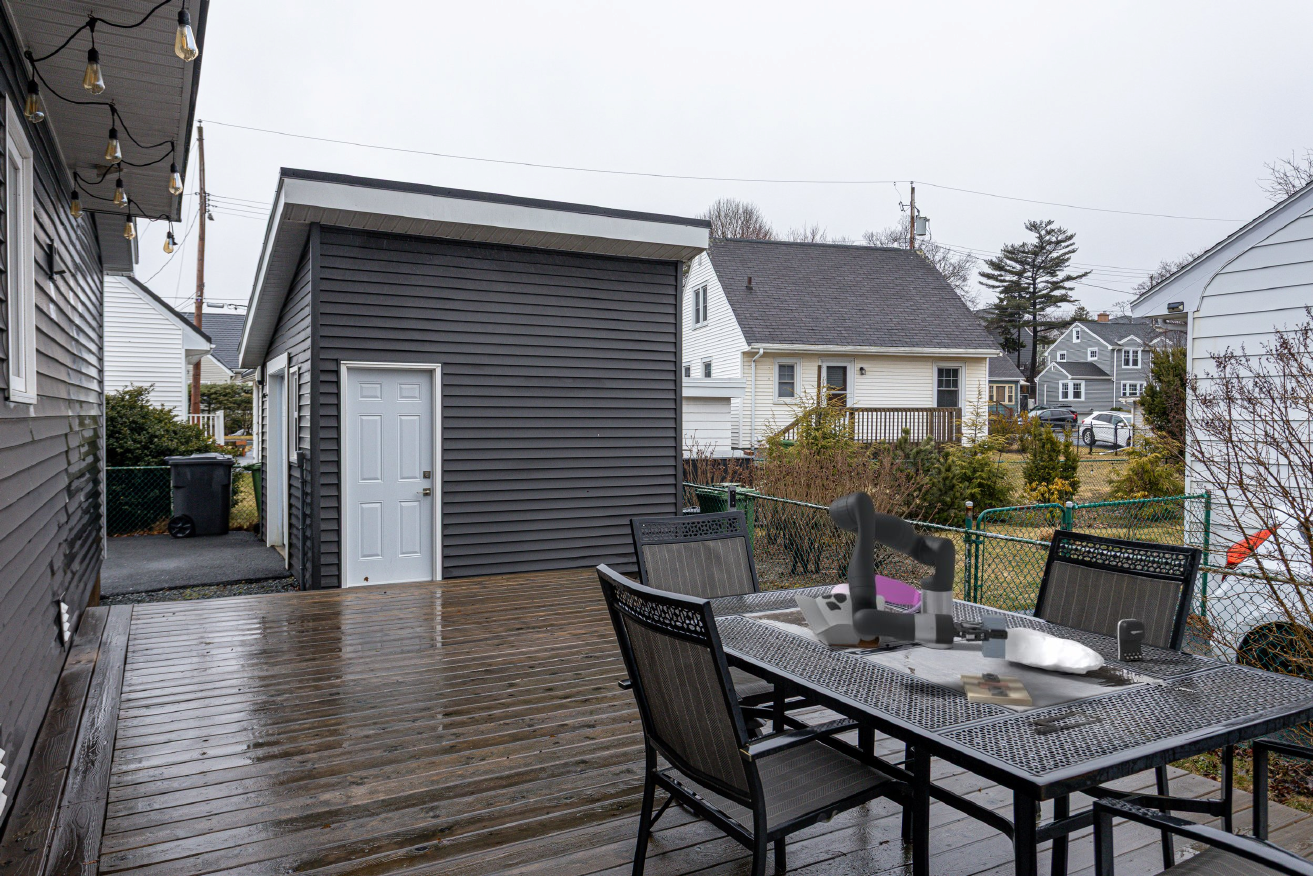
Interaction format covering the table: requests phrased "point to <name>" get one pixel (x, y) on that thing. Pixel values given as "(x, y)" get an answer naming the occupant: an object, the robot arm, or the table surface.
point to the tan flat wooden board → (995, 689)
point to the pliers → (1155, 682)
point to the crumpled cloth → (1049, 652)
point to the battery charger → (1130, 639)
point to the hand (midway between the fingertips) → (1005, 632)
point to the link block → (993, 646)
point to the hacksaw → (1055, 728)
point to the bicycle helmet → (834, 619)
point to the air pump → (890, 592)
